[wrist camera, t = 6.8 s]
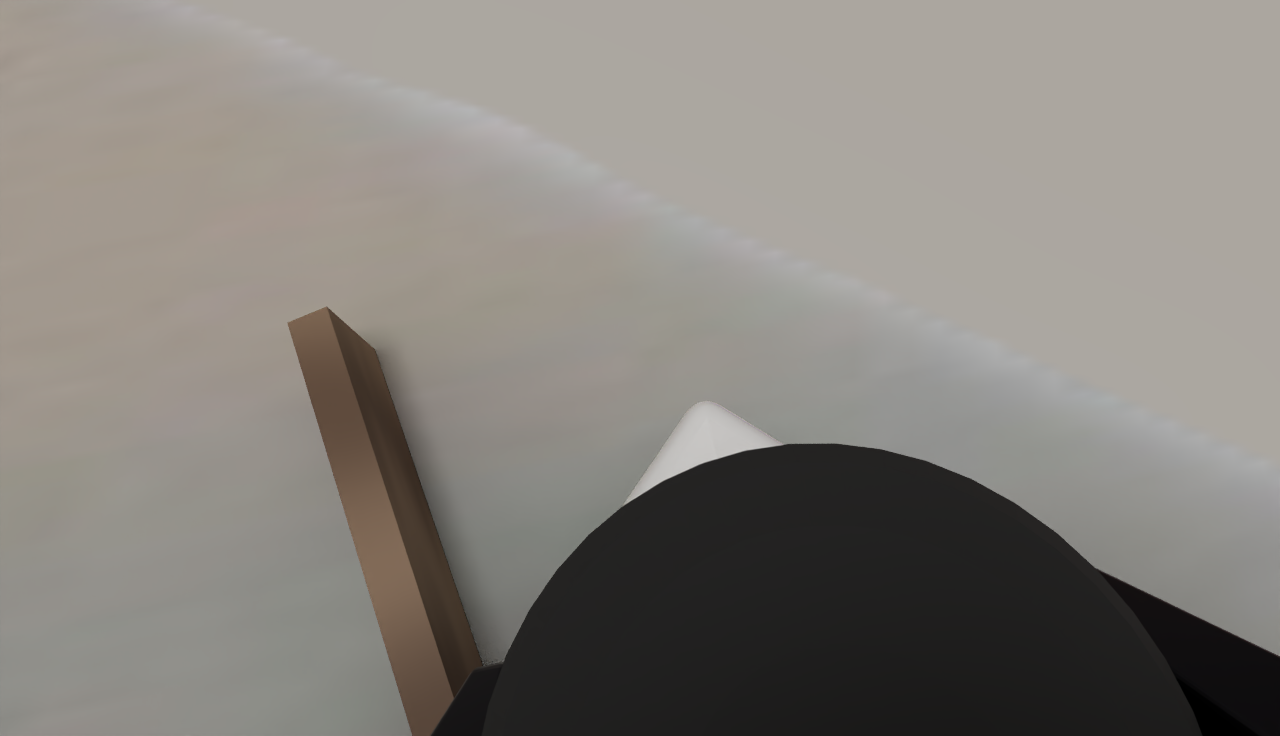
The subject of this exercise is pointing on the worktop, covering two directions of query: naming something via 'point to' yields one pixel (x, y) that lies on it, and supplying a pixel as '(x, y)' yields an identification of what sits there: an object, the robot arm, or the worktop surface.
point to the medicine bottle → (826, 608)
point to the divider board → (387, 518)
